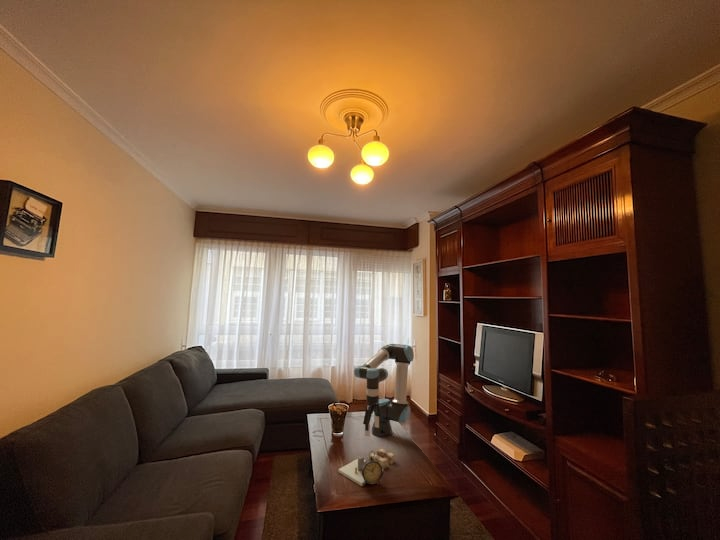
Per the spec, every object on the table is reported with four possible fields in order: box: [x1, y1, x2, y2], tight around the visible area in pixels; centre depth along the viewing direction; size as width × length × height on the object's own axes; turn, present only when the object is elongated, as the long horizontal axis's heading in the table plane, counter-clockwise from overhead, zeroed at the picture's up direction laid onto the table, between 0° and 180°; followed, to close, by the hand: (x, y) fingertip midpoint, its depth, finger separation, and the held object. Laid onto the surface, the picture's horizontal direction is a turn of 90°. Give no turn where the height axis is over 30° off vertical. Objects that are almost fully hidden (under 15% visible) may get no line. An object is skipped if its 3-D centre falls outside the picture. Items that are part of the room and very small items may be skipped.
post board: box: [337, 455, 384, 487], centre depth 163 cm, size 18×18×8 cm
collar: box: [369, 448, 396, 470], centre depth 174 cm, size 11×11×4 cm
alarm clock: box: [361, 450, 384, 486], centre depth 153 cm, size 11×5×16 cm, turn 103°
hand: (372, 431), depth 174 cm, fingers open, 13 cm apart
